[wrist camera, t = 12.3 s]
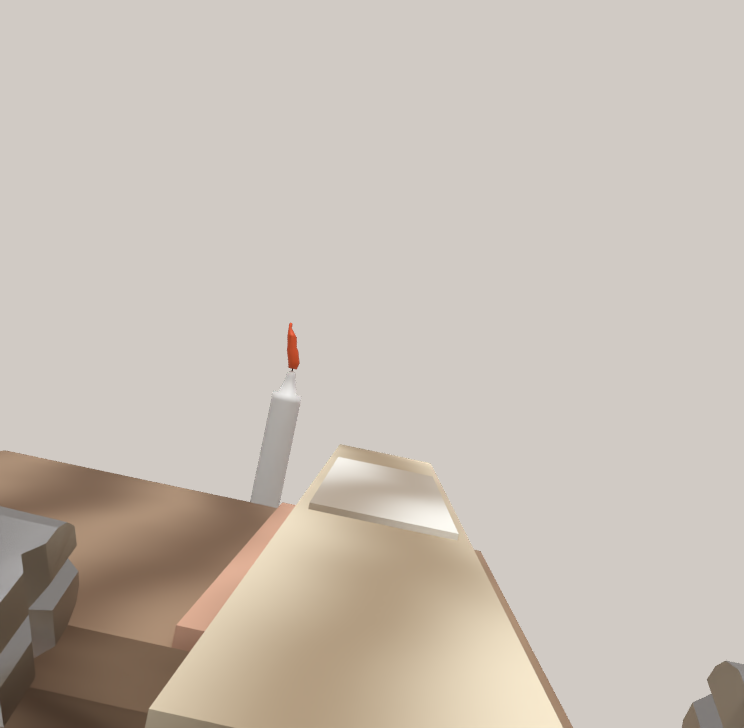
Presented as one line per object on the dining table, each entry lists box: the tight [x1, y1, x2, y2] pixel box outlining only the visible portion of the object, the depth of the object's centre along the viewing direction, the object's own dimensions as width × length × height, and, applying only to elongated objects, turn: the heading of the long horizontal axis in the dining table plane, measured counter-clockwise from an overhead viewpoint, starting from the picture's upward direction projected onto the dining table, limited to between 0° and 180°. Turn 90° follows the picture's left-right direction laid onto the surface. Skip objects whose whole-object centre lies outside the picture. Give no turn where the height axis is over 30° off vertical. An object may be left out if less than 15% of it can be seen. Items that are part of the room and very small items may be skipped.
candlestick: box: [250, 323, 301, 508], centre depth 45 cm, size 11×11×35 cm
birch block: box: [145, 445, 563, 728], centre depth 18 cm, size 4×24×3 cm, turn 178°
